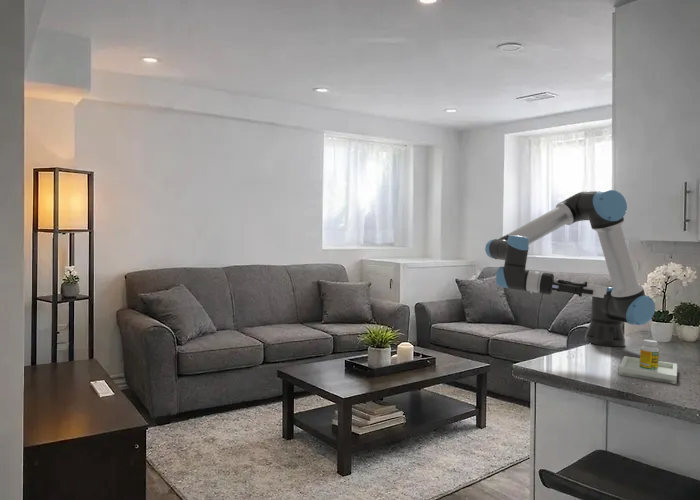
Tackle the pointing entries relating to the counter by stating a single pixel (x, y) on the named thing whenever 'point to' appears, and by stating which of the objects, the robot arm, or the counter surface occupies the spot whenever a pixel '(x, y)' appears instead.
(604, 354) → the counter surface
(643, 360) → the supplement bottle
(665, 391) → the counter surface
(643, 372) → the tray
